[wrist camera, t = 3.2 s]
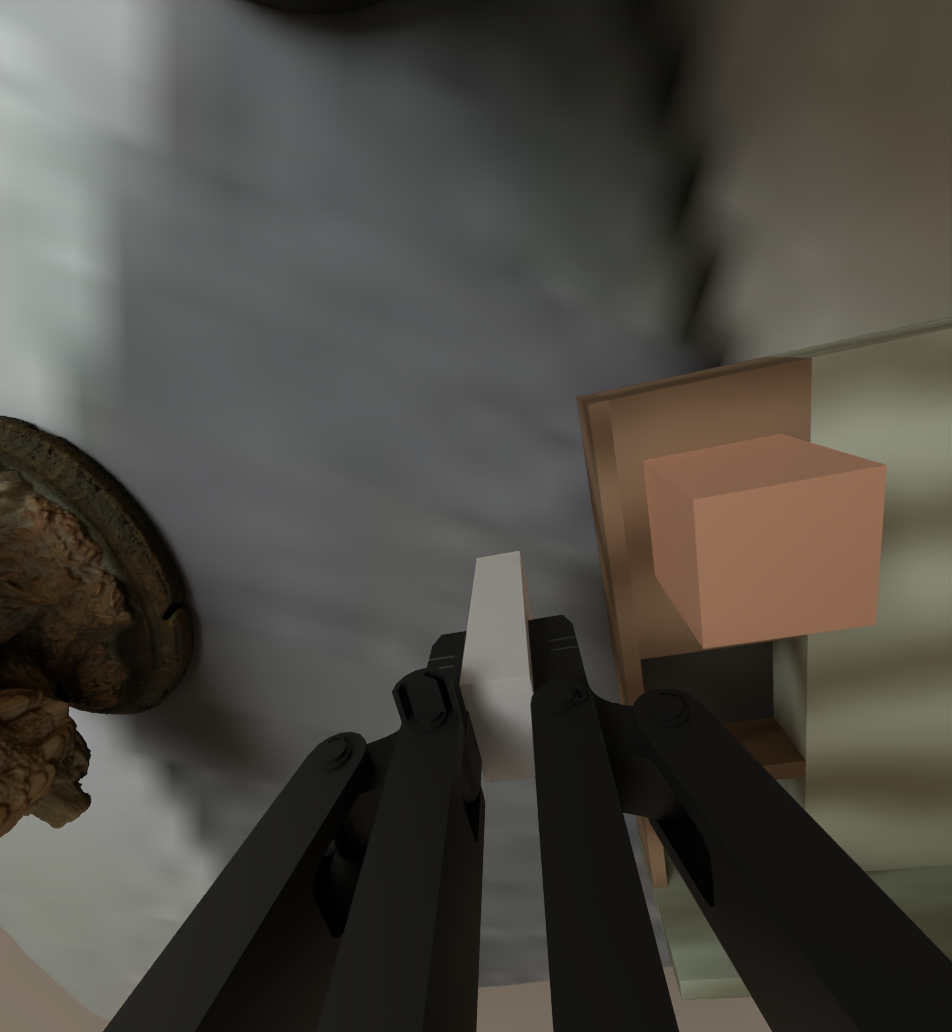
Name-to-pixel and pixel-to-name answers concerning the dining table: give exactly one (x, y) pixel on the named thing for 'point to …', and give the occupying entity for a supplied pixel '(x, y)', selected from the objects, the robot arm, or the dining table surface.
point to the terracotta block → (767, 538)
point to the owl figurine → (74, 618)
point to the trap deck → (813, 657)
